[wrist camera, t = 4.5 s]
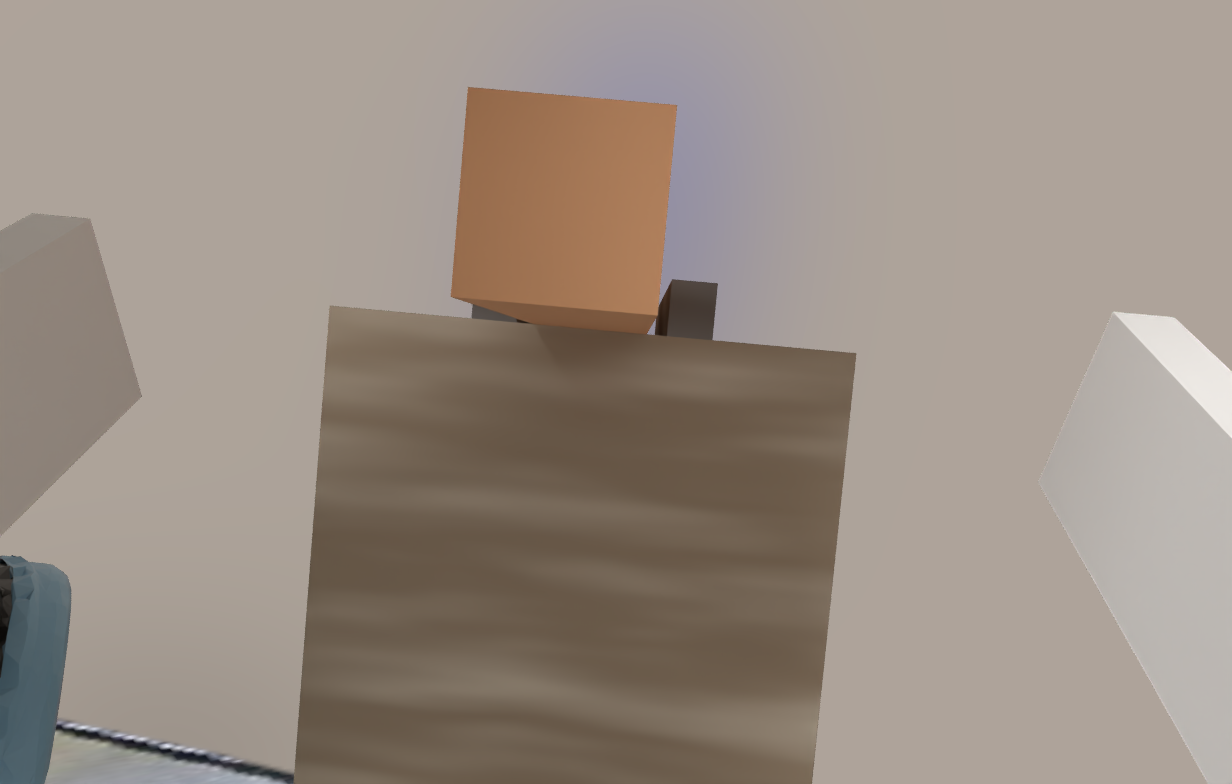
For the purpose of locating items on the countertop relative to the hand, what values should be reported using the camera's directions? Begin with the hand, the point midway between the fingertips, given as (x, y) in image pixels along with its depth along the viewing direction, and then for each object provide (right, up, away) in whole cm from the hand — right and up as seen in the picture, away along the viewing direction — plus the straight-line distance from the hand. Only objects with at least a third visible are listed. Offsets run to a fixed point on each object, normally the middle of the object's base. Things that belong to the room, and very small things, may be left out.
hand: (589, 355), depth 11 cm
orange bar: (0, +1, +14) cm, 14 cm away
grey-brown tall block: (-3, -28, +19) cm, 34 cm away
